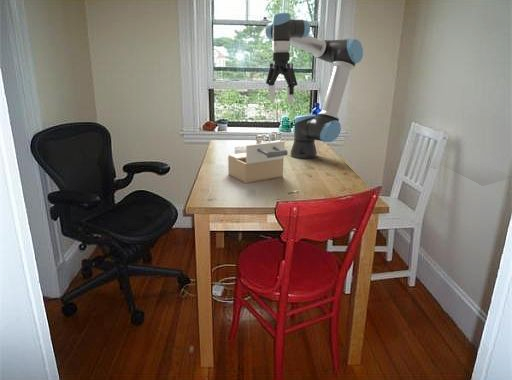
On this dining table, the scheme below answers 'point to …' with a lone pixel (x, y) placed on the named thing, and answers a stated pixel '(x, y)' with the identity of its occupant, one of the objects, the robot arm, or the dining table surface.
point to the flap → (265, 152)
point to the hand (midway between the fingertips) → (280, 100)
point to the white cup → (240, 149)
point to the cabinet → (253, 169)
